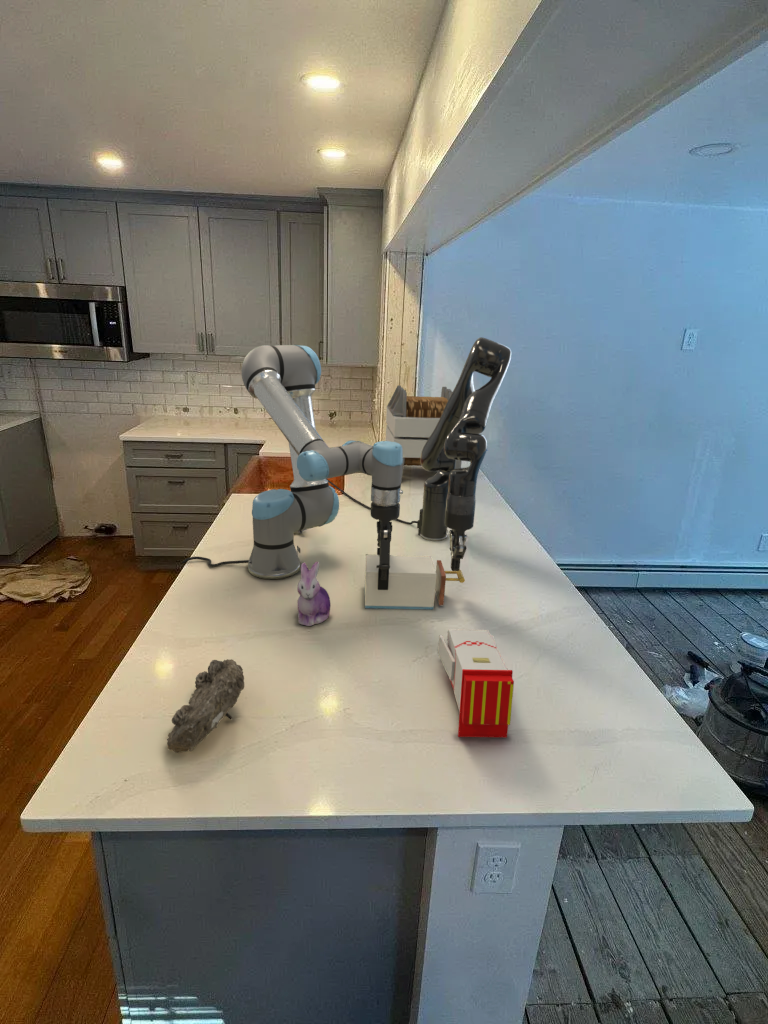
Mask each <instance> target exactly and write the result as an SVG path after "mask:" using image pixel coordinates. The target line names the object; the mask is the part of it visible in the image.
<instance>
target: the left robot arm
mask: <svg viewBox="0 0 768 1024" xmlns="http://www.w3.org/2000/svg"><path fill="white" fill-rule="evenodd" d="M242 361H243V362H242V364H241V371H240V372H241V379H242V383H243V386H244V387H245V389H246V390H247V392H248V393H249V395H250V396H251V397H252V398H253V399H256V400H258V401H259V402H260V404H261V405H262V407H263V408H264V409H265V411H266V413H267V414H268V415H269V417H270V418H271V419H272V421H273V422H274V424H275V425H276V426H277V428H278V429H279V430H280V432H281V433H282V435H283V437H284V438H285V439H286V441H287V442H288V449H289V454H290V461H291V469H292V474H293V481H292V482H291V484H290V485H289V488H290V489H287V488H286V489H285V488H278V489H275V488H273V489H268V490H264V491H261V492H259V493H258V494H256V495H255V497H254V499H253V500H252V507H251V515H252V535H253V536H252V537H253V546H252V550H251V552H250V556H249V559H244V560H243V559H242V560H241V559H240V560H227V561H220V562H216V563H212V560H211V559H210V558H208V557H204V556H189V557H187V558H185V559H184V560H182V561H181V564H186V563H187V562H190V561H195V560H199V561H205V562H207V565H208V567H211V568H217V567H220V566H224V565H235V564H236V565H237V564H247V567H248V568H247V571H248V573H249V574H250V575H252V576H254V577H256V578H259V579H264V580H280V579H282V580H283V579H286V578H290V577H292V576H294V575H296V574H297V573H298V572H299V571H301V560H300V557H299V555H298V553H299V554H301V547H300V546H299V545H295V533H297V532H300V531H302V532H303V531H304V530H308V529H313V528H317V527H318V528H319V527H323V526H325V525H327V524H330V523H332V522H333V521H334V520H335V519H336V517H337V516H338V514H339V510H340V499H339V494H338V493H337V492H336V489H335V487H334V486H332V485H330V483H329V482H328V480H329V479H333V478H337V477H343V476H348V475H354V474H359V473H362V474H364V475H367V476H370V477H371V484H370V485H371V486H370V487H371V488H370V501H371V503H370V508H371V510H370V517H371V518H373V519H374V520H377V521H376V533H377V539H376V542H377V543H376V546H377V548H376V555H380V556H379V565H377V566H376V568H378V590H388V582H389V569H390V555H391V542H392V533H393V522H392V521H397V520H396V519H399V518H400V514H401V513H400V512H401V504H400V502H401V495H402V494H404V490H402V489H401V487H402V482H401V476H402V477H403V475H402V463H403V450H402V446H401V445H400V444H399V443H396V442H390V441H385V440H380V441H376V442H375V443H374V444H373V445H371V444H368V443H365V442H362V441H360V440H351V439H350V440H347V441H346V442H344V443H343V444H342V445H340V446H339V445H338V446H333V447H329V445H328V444H327V443H326V442H325V441H324V439H323V438H322V436H321V435H320V433H318V431H317V427H316V420H315V413H314V406H313V399H312V396H313V394H315V392H316V385H317V384H318V383H319V382H320V379H321V375H322V365H321V362H320V359H319V357H318V355H317V353H316V352H315V351H314V350H313V349H312V348H311V347H309V346H308V345H302V344H301V345H300V344H299V345H298V344H279V345H275V344H274V345H267V344H265V345H264V344H263V345H259V346H256V347H254V348H253V349H251V350H250V351H249V352H248V353H247V354H246V356H245V357H244V359H243V360H242ZM326 479H328V480H326Z"/></svg>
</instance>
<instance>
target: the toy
mask: <svg viewBox="0 0 768 1024" xmlns="http://www.w3.org/2000/svg"><path fill="white" fill-rule="evenodd" d="M446 640H447V643H446V641H445V639H444V636H443V635H442V634H439V637H438V646H437V656H438V657H439V659H440V661H441V663H442V666H443V668H444V670H445V672H446V674H447V677H448V679H449V681H450V684H451V687H452V690H453V693H454V697H455V701H456V705H457V708H458V711H459V714H458V715H459V716H458V730H457V731H458V732H457V737H458V738H508V731H509V726H510V725H511V717H512V707H513V697H514V696H513V695H514V684H515V680H514V679H513V673H514V671H513V670H512V669H508V667H507V665H506V662H505V661H504V659H503V658H502V655H501V653H500V651H499V649H498V647H497V643H496V639H495V637H494V635H493V634H491V632H490V631H489V629H467V628H466V629H465V628H463V629H461V628H460V629H459V628H448V630H447V639H446Z"/></svg>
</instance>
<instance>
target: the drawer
mask: <svg viewBox="0 0 768 1024" xmlns="http://www.w3.org/2000/svg"><path fill="white" fill-rule="evenodd" d="M435 566H436V567H435V571H436V584H435V595H436V596H435V597H436V599H437V603H438V606H444V605H445V604H444V603H445V593H446V592H445V591H446V582H447V581H448V582H459V583H461V584H463V583H465V582H466V578H465V575H464V574H463V571H462V569H460V570H459V571H452V570H445V568H444V565H443V561H442V560H441V559H436V565H435ZM447 575H456V576H457V577H447Z"/></svg>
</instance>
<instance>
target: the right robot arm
mask: <svg viewBox="0 0 768 1024" xmlns="http://www.w3.org/2000/svg"><path fill="white" fill-rule="evenodd" d="M511 359H512V350H511V348H510V347H508V346H506V345H504V344H502V343H500V342H496V341H494V340H492V339H489V338H487V337H483V336H482V337H478V338H476V340H475V341H474V342H473V345H472V346H471V348H470V351H469V352H468V355H467V358H466V360H465V362H464V365H463V368H462V370H461V373H460V375H459V377H458V380H457V382H456V385H455V387H454V388H453V390H452V394H451V396H450V398H449V400H448V402H447V404H446V406H445V408H444V410H443V413H442V415H441V417H440V419H439V421H438V423H437V425H436V427H435V429H434V431H433V433H432V434H431V436H430V437H429V439H428V440H427V442H426V444H425V445H424V447H423V449H422V452H421V457H420V462H421V466H420V467H422V469H423V470H424V471H427V472H435V474H433V475H432V476H430V477H428V478H427V479H425V480H424V482H423V493H422V496H423V497H422V506H421V508H420V509H419V516H418V520H412V521H411V522H410V521H409V522H408V521H406V520H402V519H399V518H397V519H396V520H395V521H397V522H400V523H402V524H405V525H413V524H416V528H417V529H418V530H417V535H418V536H420V538H421V539H424V540H426V541H432V542H440V541H444V540H446V539H447V538H448V536H449V551H450V556H451V560H450V571H459V570H461V560H463V559H464V557H465V554H466V551H467V548H468V547H467V545H466V542H467V539H468V538H467V537H468V536H467V534H466V531H469V530H472V528H473V527H474V524H475V523H474V522H475V513H476V501H477V500H476V491H477V484H478V483H477V482H478V476H479V472H480V468H481V466H482V464H483V461H484V459H485V456H486V454H487V450H488V441H487V438H486V436H485V435H483V434H482V433H483V432H484V431H485V430H486V427H487V425H488V424H487V423H488V420H489V416H490V413H491V409H492V406H493V404H494V401H495V398H496V396H497V395H498V392H499V391H500V388H501V386H502V383H503V380H504V378H505V376H506V374H507V370H508V368H509V366H510V362H511ZM474 373H478V374H479V375H483V376H486V377H488V378H490V379H489V380H488V381H487V382H486V383H485V384H483V385H482V386H480V387H479V388H476V390H475V385H474ZM456 460H460V461H463V462H470V463H469V466H466V467H461V468H458V469H455V464H456ZM326 480H328V484H329V485H331V486H332V487H333V488H336V489H337V490H338V491H340V492H341V493H342V494H343V495H345V496H346V497H348V498H349V499H351V501H354V502H355V503H357V504H359V505H360V506H362V507H364V508H365V509H368V510H370V511H371V506H368V505H366V504H364V503H362V502H361V501H360V500H357V499H356V498H354V497H353V496H352V495H350V494H348V493H347V492H346V491H344V490H343V489H341V488H340V487H338V486H337V485H336V484H334V483H333V482H332V481H330V480H329V478H328V479H326ZM448 533H449V535H448Z"/></svg>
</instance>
